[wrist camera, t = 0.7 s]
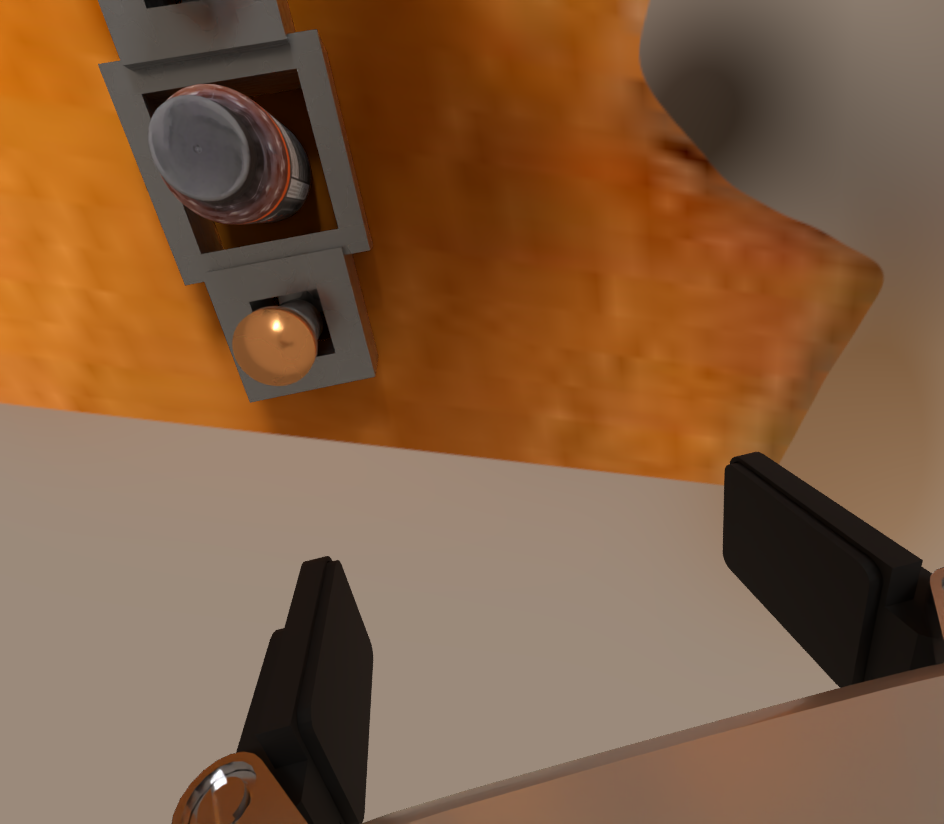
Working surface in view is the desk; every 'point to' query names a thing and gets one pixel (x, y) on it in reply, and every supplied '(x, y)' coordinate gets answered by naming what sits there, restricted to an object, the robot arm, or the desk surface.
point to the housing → (196, 238)
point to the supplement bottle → (228, 156)
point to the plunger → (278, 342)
